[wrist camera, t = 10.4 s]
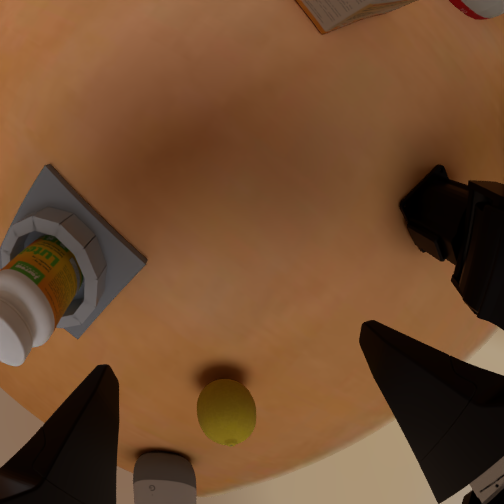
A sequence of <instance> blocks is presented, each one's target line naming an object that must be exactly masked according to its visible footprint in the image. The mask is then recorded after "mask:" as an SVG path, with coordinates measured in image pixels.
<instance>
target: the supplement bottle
mask: <svg viewBox="0 0 504 504" xmlns="http://www.w3.org/2000/svg"><path fill="white" fill-rule="evenodd" d="M83 281H84V276H83V274H82V272H81V269H80V267H79V265H78V262H77V260H76V258H75V255H74V254H73V253H72V252H71V251H70V250H69V249H68V248H67V247H66V246H65V245H64V244H63V243H62V242H60V241H59V240H58V239H57V238H56V237H55V236H52V235H48V234H45V235H42V236H41V237H39V238H38V239H36V240H35V241H34V242H32V243H31V244H30V245H29V246H27V247H26V248H25V249H24V250H23V251H22V252H20V253H19V254H18V255H17V256H16V257H15V258H13V259H12V260H11V261H10V262H9V263H8V264H7V265H6V266H4V267H3V268H2V269H1V270H0V361H2V362H3V363H5V364H8V365H11V366H19V365H21V364H22V363H23V362H24V361H25V359H26V357H27V356H28V354H29V353H30V351H31V348H32V347H38V346H41V345H43V344H44V343H45V342H47V340H48V339H49V338H50V336H51V335H52V333H53V332H54V330H55V328H56V326H57V325H58V323H59V321H60V319H61V318H62V316H63V314H64V313H65V311H66V309H67V308H68V306H69V305H70V303H71V301H72V300H73V298H74V297H75V295H76V294H77V292H78V291H79V289H80V287H81V286H82V284H83Z"/></svg>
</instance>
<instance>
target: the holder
mask: <svg viewBox="0 0 504 504" xmlns="http://www.w3.org/2000/svg"><path fill="white" fill-rule="evenodd" d="M45 234H48V235H52V236H55V237H56V238H57V239H58V240H59V241H60V242H62V243H63V244H64V245H65V246H66V247H67V248H68V249H69V250H70V251H71V252H72V253H73V254H74V255H75V258H76V260H77V262H78V265H79V267H80V269H81V272H82V274H83V276H84V281H83V284H82V286H81V287H80V289H79V291H78V292H77V294H76V295H75V297H74V298H73V300H72V301H71V303H70V305H69V306H68V308H67V309H66V311H65V313H64V314H63V316H62V318H61V319H60V321H59V323H58V325H57V326H56V327H57V328H64V329H65V330H67V331H68V332H69V333H70V334H72V335H73V336H74V337H75V338H77V339H79V338H80V336H81V335H82V334H83V333H84V332H85V330H86V329H87V328H88V327H89V326H90V325H91V324H92V322H93V321H94V320H95V319H96V318H97V317H98V316H99V314H100V313H101V312H102V311H103V310H104V309H105V308H106V307H107V305H108V304H109V303H110V302H111V301H112V300H113V299H114V298H115V297H116V296H117V295H118V293H119V292H120V291H121V290H122V289H123V288H124V287H125V286H126V285H127V284H128V283H129V282H130V281H131V279H132V278H133V277H134V276H135V275H136V274H137V273H138V272H139V271H140V270H141V269H142V268H143V267H144V266H145V265H146V263H147V259H146V258H145V257H144V256H142V255H141V254H140V253H139V252H138V251H137V250H136V249H135V248H134V247H133V246H131V245H130V244H129V243H128V242H127V241H126V240H125V239H124V238H123V237H122V236H121V235H120V234H119V233H117V232H116V231H115V230H114V229H113V228H112V227H111V226H110V225H109V224H108V223H107V222H106V221H105V220H104V219H103V218H102V217H101V216H100V215H99V214H98V213H97V212H96V211H95V210H94V209H93V208H92V207H91V206H90V205H89V204H88V203H87V202H86V201H85V200H84V199H83V198H82V197H81V196H80V195H79V194H78V193H77V192H76V191H75V190H74V189H73V188H72V187H71V186H70V185H69V184H68V183H67V182H66V181H65V180H64V179H63V178H62V176H61V175H60V174H59V173H58V172H57V171H56V170H55V169H54V168H53V167H52V166H51V165H50V164H48V165H45V166H44V168H43V169H42V171H41V172H40V174H39V175H38V177H37V179H36V180H35V182H34V183H33V185H32V187H31V188H30V190H29V192H28V194H27V195H26V197H25V199H24V201H23V203H22V204H21V206H20V208H19V210H18V212H17V214H16V216H15V218H14V220H13V222H12V224H11V226H10V228H9V230H8V232H7V234H6V236H5V238H4V241H3V243H2V245H1V247H0V269H2V268H3V267H4V266H6V265H7V264H8V263H9V262H10V261H11V260H12V259H13V258H15V257H16V256H17V255H18V254H19V253H20V252H22V251H23V250H24V249H25V248H26V247H27V246H29V245H30V244H31V243H32V242H34V241H35V240H36V239H38V238H39V237H41V236H42V235H45Z"/></svg>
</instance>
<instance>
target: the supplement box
mask: <svg viewBox="0 0 504 504" xmlns="http://www.w3.org/2000/svg"><path fill="white" fill-rule="evenodd" d="M296 1H297V2H298V4H299V5H300V6H301V8H302V9H303V10H304V11H305V13H306V14H307V15H308V16H309V18H310V19H311V20H312V22H313V23H314V24H315V26H316V27H317V29H318V30H319V31H320V33H321V34H325V33H328V32H330V31H333V30H335V29H338V28H340V27H343V26H345V25H348V24H351V23H353V22H356V21H358V20H361V19H364V18H367V17H371V16H376V15H380V14H384V13H388V12H391V11H393V10H396V9H398V8H400V7H403V6H405V5H407V4H410V3H412V2H415V1H417V0H296Z"/></svg>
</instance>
